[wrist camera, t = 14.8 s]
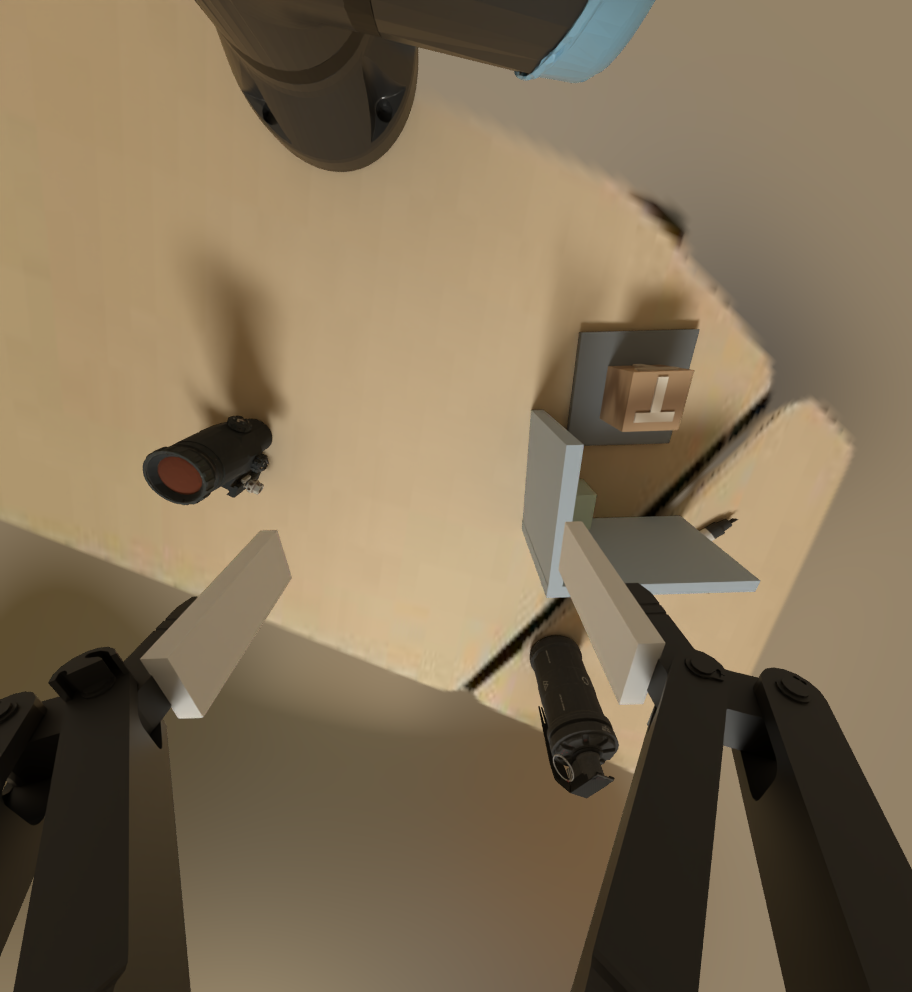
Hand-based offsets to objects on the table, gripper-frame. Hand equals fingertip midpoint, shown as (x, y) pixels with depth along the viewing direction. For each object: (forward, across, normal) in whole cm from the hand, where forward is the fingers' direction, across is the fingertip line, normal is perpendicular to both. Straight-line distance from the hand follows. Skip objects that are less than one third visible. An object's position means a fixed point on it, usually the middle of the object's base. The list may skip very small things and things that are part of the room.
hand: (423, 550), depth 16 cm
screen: (+29, +22, -8) cm, 37 cm away
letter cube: (+28, +22, +2) cm, 36 cm away
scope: (+29, -24, -3) cm, 38 cm away
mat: (+29, +22, +2) cm, 37 cm away
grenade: (+29, +18, -44) cm, 56 cm away
